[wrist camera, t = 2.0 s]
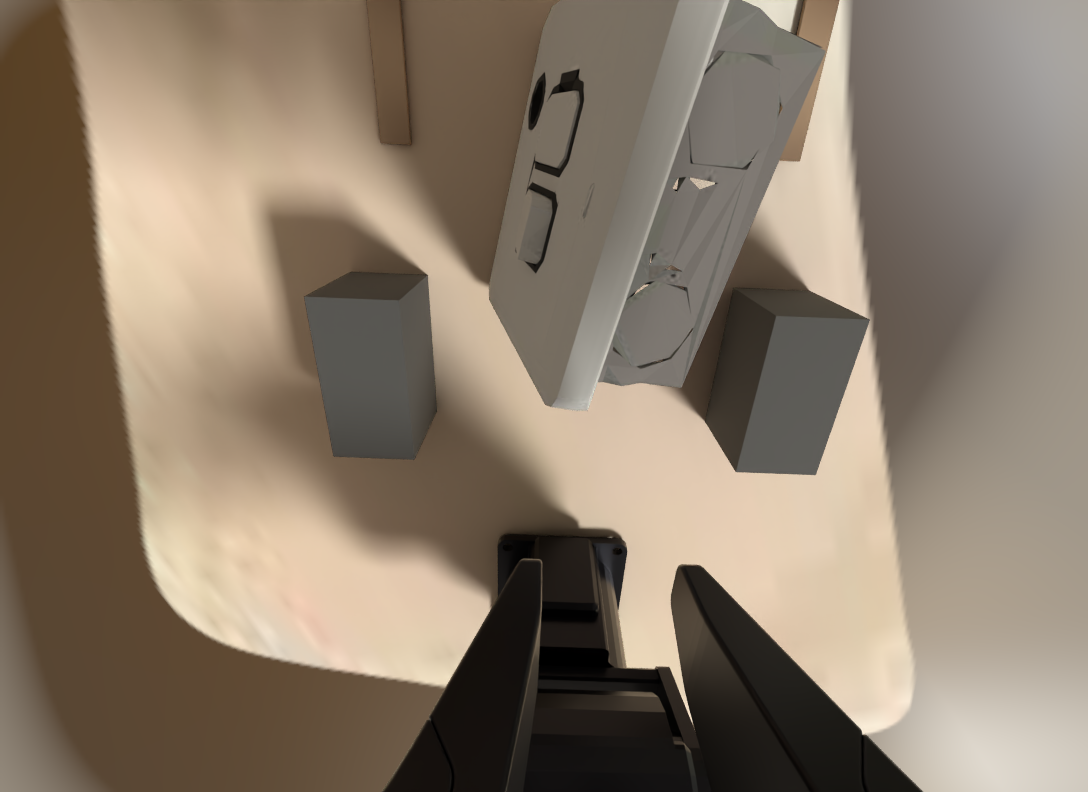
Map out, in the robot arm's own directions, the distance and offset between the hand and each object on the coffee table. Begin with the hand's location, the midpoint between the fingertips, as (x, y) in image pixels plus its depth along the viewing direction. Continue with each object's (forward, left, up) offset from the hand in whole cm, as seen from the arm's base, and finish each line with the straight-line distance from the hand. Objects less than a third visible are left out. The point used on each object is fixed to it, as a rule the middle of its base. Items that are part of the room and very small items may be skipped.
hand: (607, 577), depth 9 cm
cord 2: (0, +7, -12) cm, 14 cm away
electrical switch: (+6, 0, -12) cm, 14 cm away
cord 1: (0, -8, -12) cm, 14 cm away
